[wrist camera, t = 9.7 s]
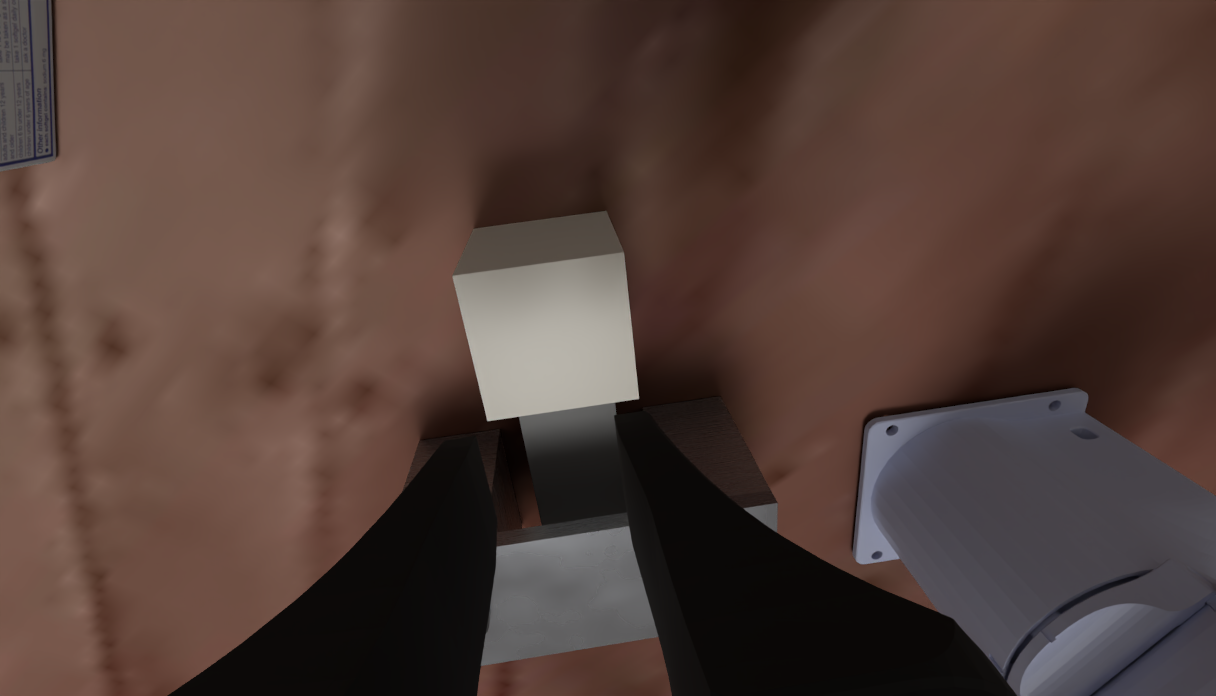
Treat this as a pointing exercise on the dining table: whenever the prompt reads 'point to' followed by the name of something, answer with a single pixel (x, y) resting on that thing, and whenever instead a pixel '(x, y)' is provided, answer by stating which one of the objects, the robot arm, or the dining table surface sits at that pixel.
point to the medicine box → (26, 84)
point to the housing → (594, 544)
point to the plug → (554, 351)
